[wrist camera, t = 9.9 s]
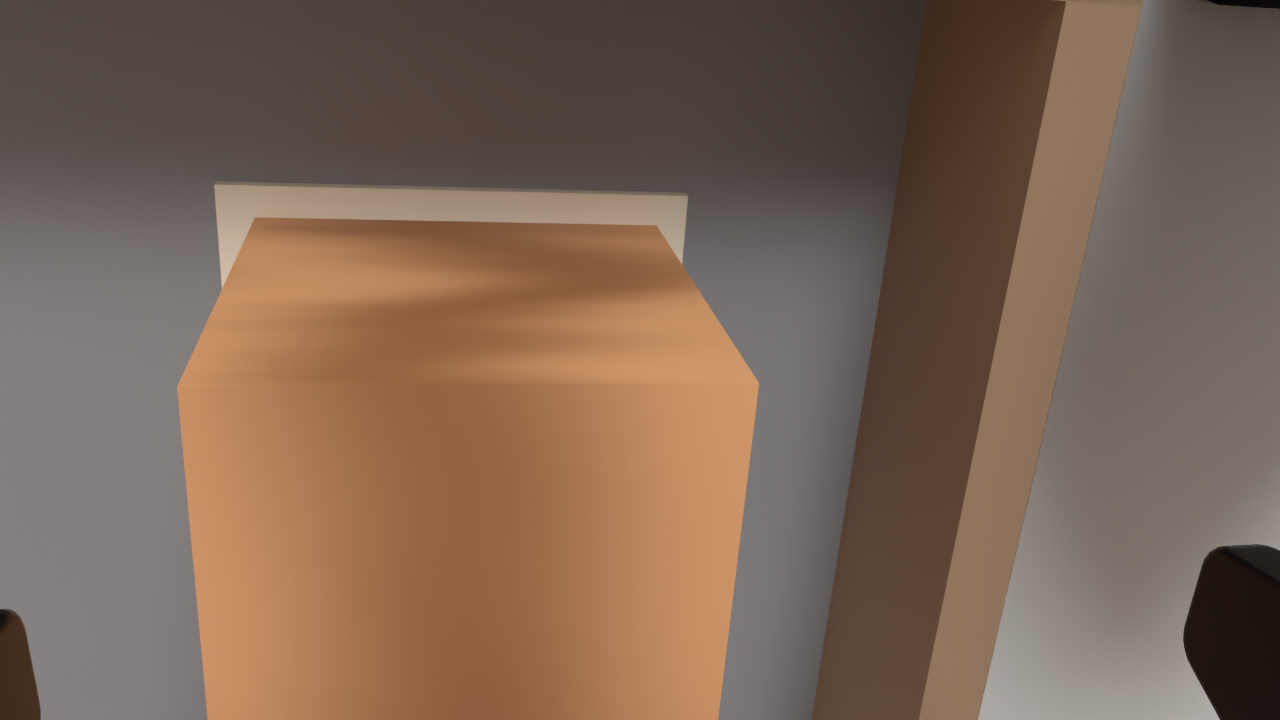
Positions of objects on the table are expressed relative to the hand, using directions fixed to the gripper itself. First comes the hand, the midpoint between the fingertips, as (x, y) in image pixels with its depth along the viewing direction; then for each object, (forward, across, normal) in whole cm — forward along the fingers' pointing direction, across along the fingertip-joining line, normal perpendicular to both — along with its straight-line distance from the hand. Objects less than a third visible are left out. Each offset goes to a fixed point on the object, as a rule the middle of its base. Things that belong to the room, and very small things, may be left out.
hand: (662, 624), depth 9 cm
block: (+10, +1, +3) cm, 10 cm away
